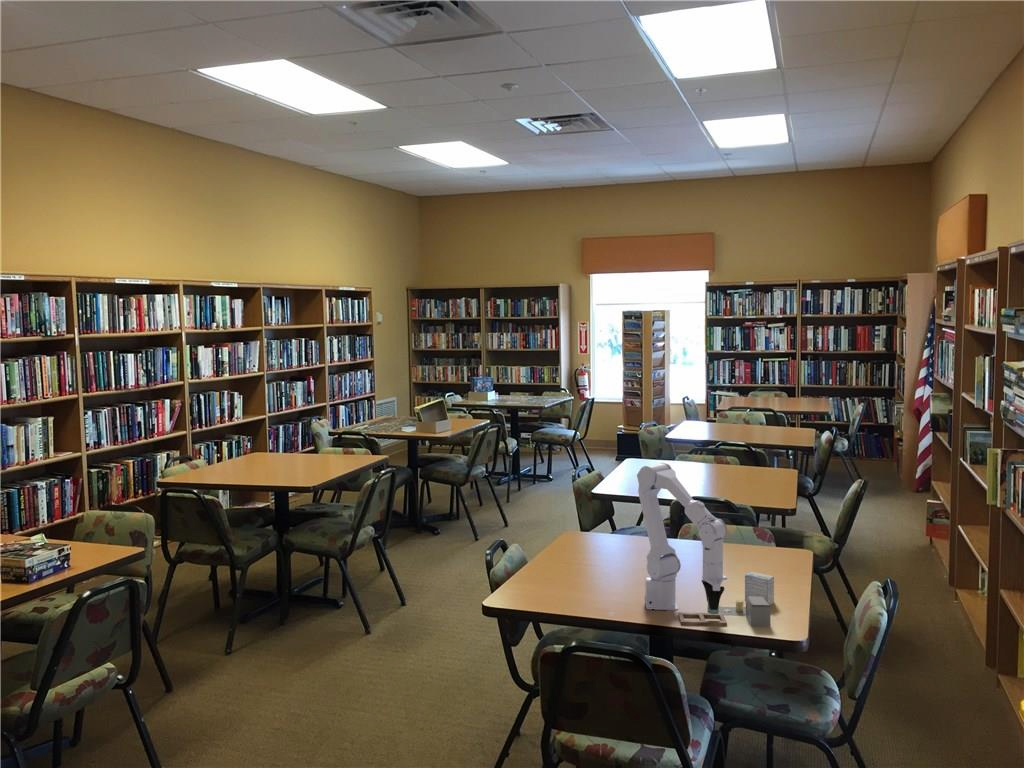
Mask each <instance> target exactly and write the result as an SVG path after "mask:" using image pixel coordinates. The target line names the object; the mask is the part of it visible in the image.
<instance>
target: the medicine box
mask: <svg viewBox="0 0 1024 768" xmlns="http://www.w3.org/2000/svg"><path fill="white" fill-rule="evenodd" d="M746 596H765V598H766V599H767V601H768V602H769V604H770V605H773V604H774V603H775V576H773V575H768V574H764V573H759V572H755V571H750V572H748V573H746V574H744V601H745V602H746Z"/></svg>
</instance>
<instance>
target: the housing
mask: <svg viewBox="0 0 1024 768" xmlns="http://www.w3.org/2000/svg"><path fill="white" fill-rule="evenodd" d="M771 605H772V604H771ZM771 605H770V604H769V602H768V601H767V599H766V598H765V596H746V601H745V607H746V616H745V618H746V619H747V622H748V623H749V625H750V626H751V627H762V628H763V627H768V628H769V627H771V616H772V615H771V609H772V608H771V607H772V606H771Z"/></svg>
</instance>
